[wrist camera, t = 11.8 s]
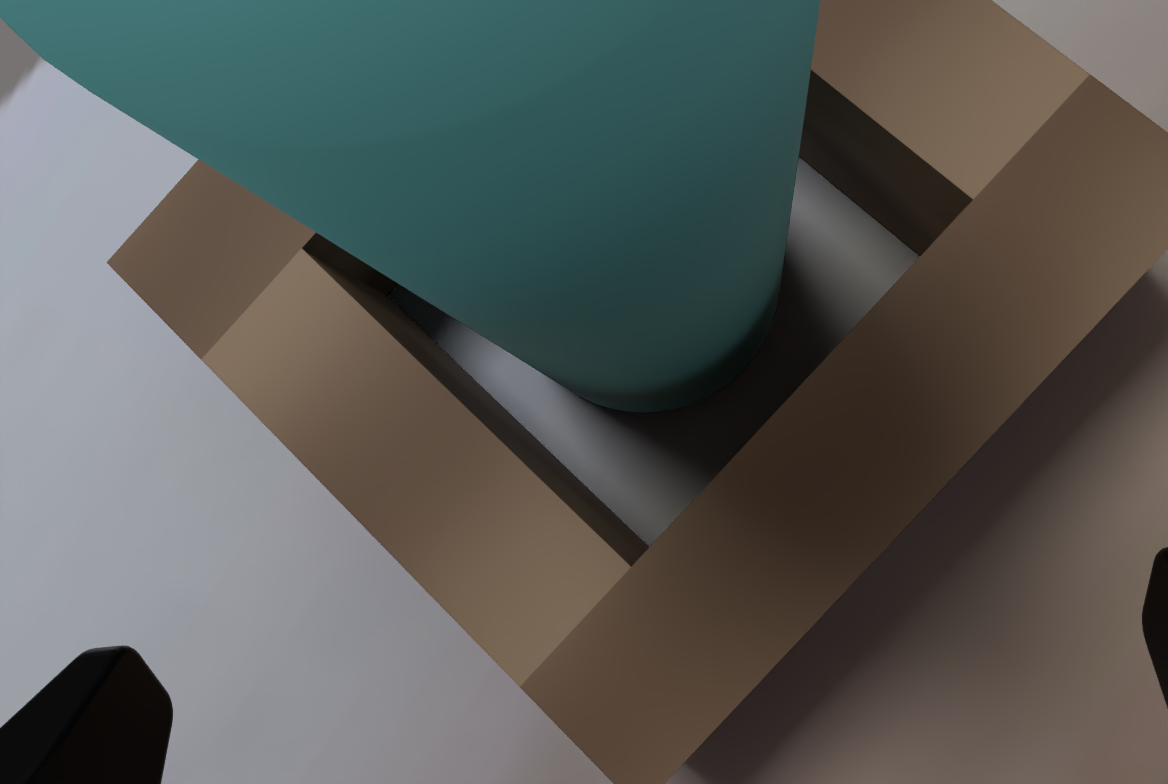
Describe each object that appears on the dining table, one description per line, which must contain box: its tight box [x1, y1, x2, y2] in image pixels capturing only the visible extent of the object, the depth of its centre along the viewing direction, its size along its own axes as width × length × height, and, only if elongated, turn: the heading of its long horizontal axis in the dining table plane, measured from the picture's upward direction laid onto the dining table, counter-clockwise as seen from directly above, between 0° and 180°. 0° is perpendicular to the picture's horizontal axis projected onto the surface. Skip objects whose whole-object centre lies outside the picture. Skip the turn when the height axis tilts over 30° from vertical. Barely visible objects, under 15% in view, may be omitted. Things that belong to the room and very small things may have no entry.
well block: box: [107, 0, 1168, 784], centre depth 16 cm, size 11×11×4 cm
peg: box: [0, 0, 821, 413], centre depth 11 cm, size 5×5×13 cm
